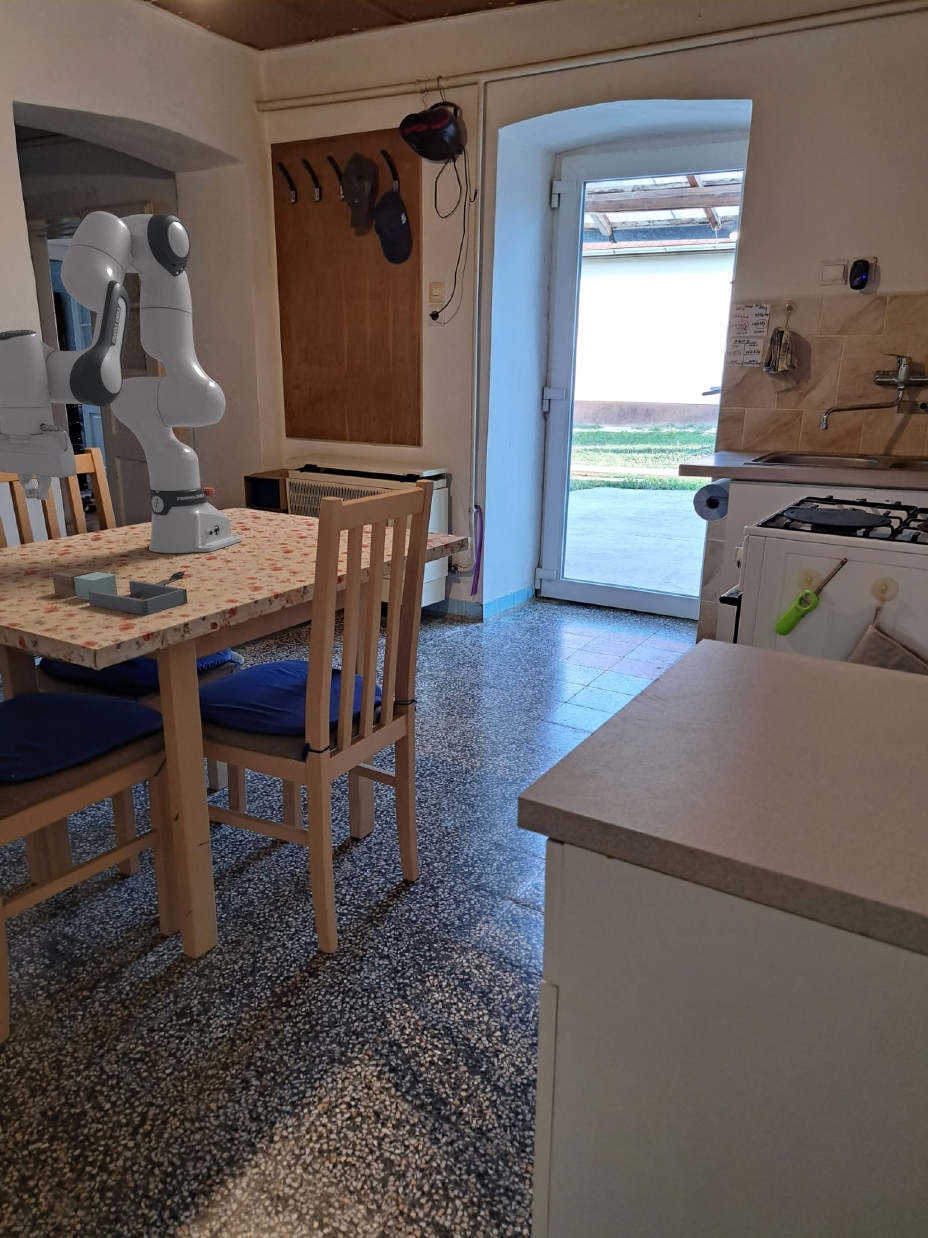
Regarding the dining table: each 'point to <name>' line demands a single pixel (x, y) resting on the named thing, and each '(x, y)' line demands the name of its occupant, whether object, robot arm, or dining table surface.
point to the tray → (158, 599)
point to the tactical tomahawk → (162, 582)
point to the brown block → (67, 581)
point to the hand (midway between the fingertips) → (37, 498)
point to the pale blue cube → (95, 584)
